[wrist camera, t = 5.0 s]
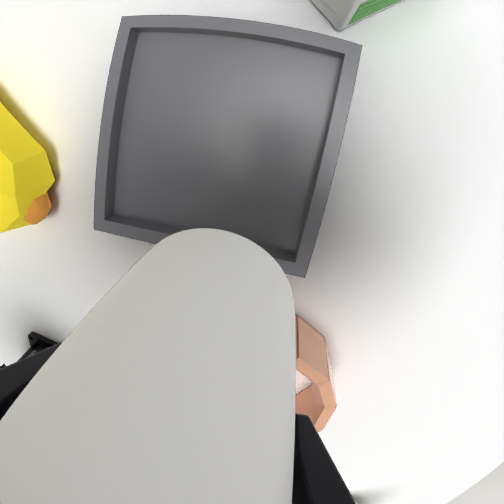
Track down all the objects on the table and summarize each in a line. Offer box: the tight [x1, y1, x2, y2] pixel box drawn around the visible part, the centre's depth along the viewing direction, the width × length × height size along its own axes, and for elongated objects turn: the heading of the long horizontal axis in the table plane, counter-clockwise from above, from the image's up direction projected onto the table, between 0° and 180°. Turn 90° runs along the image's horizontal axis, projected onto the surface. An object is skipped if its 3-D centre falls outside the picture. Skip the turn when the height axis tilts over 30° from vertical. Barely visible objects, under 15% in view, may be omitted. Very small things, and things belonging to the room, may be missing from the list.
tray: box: [94, 15, 362, 278], centre depth 17 cm, size 14×14×2 cm
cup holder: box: [295, 315, 337, 433], centre depth 22 cm, size 11×11×4 cm
